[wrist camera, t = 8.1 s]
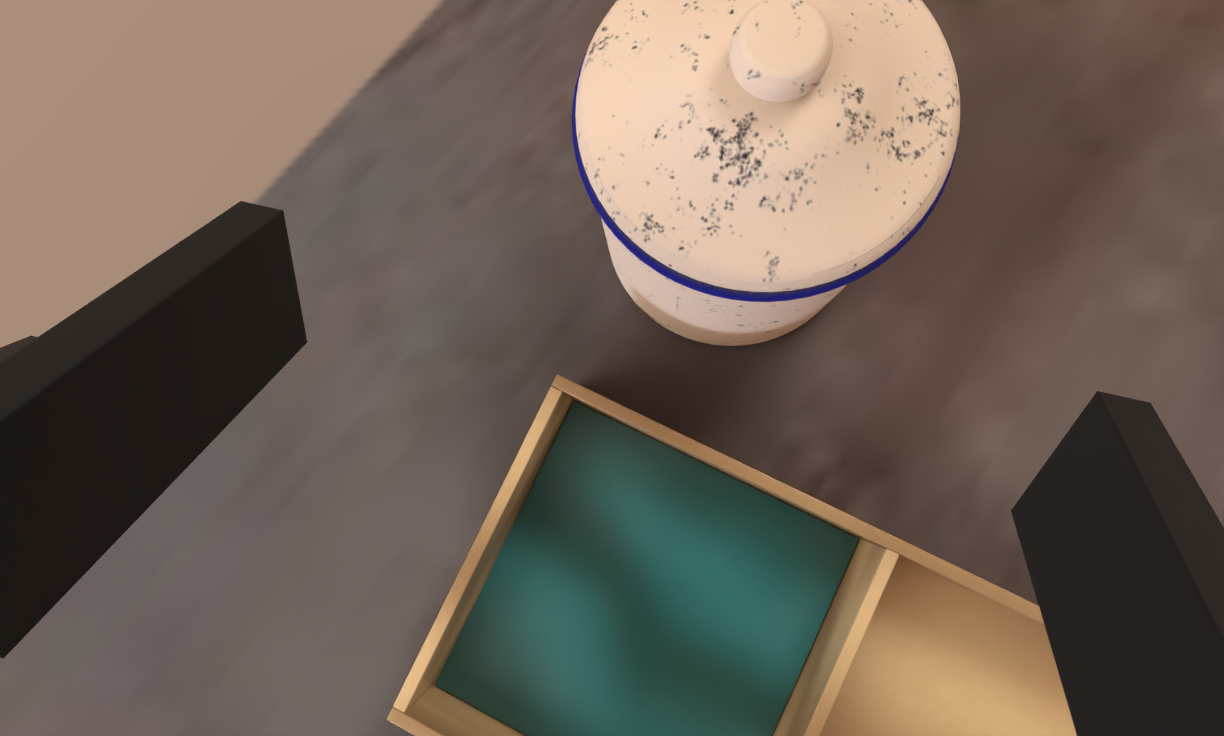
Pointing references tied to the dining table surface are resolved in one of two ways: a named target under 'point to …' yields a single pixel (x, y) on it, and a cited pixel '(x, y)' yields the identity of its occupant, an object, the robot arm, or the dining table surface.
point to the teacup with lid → (761, 152)
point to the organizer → (710, 607)
